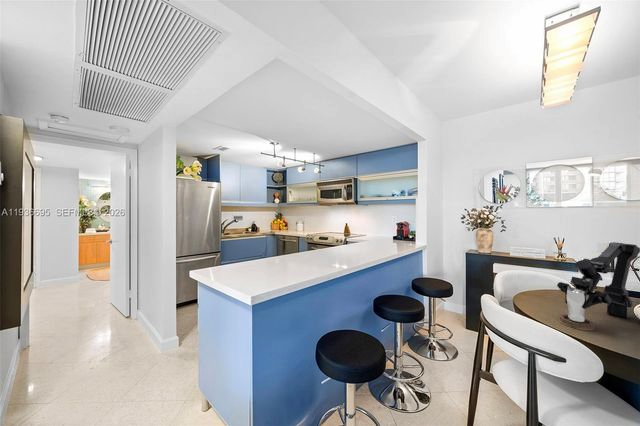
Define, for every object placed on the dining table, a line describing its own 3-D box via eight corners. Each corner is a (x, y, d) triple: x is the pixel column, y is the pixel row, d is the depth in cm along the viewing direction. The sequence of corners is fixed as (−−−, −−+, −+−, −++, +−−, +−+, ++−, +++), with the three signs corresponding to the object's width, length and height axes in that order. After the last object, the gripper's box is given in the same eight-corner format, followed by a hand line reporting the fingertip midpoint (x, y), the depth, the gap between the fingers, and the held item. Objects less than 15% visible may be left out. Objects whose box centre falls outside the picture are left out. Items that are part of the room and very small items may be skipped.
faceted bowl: (594, 324, 122) (594, 319, 122) (594, 333, 114) (595, 328, 114) (559, 316, 131) (559, 312, 131) (557, 324, 123) (557, 319, 123)
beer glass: (586, 325, 118) (586, 294, 117) (565, 320, 123) (565, 290, 123) (587, 320, 122) (587, 290, 122) (567, 315, 127) (567, 287, 127)
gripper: (559, 267, 132) (544, 289, 129) (608, 276, 114) (592, 302, 111) (569, 279, 134) (555, 302, 132) (618, 291, 116) (603, 317, 114)
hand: (574, 305), depth 122 cm, fingers closed on beer glass, 6 cm apart
